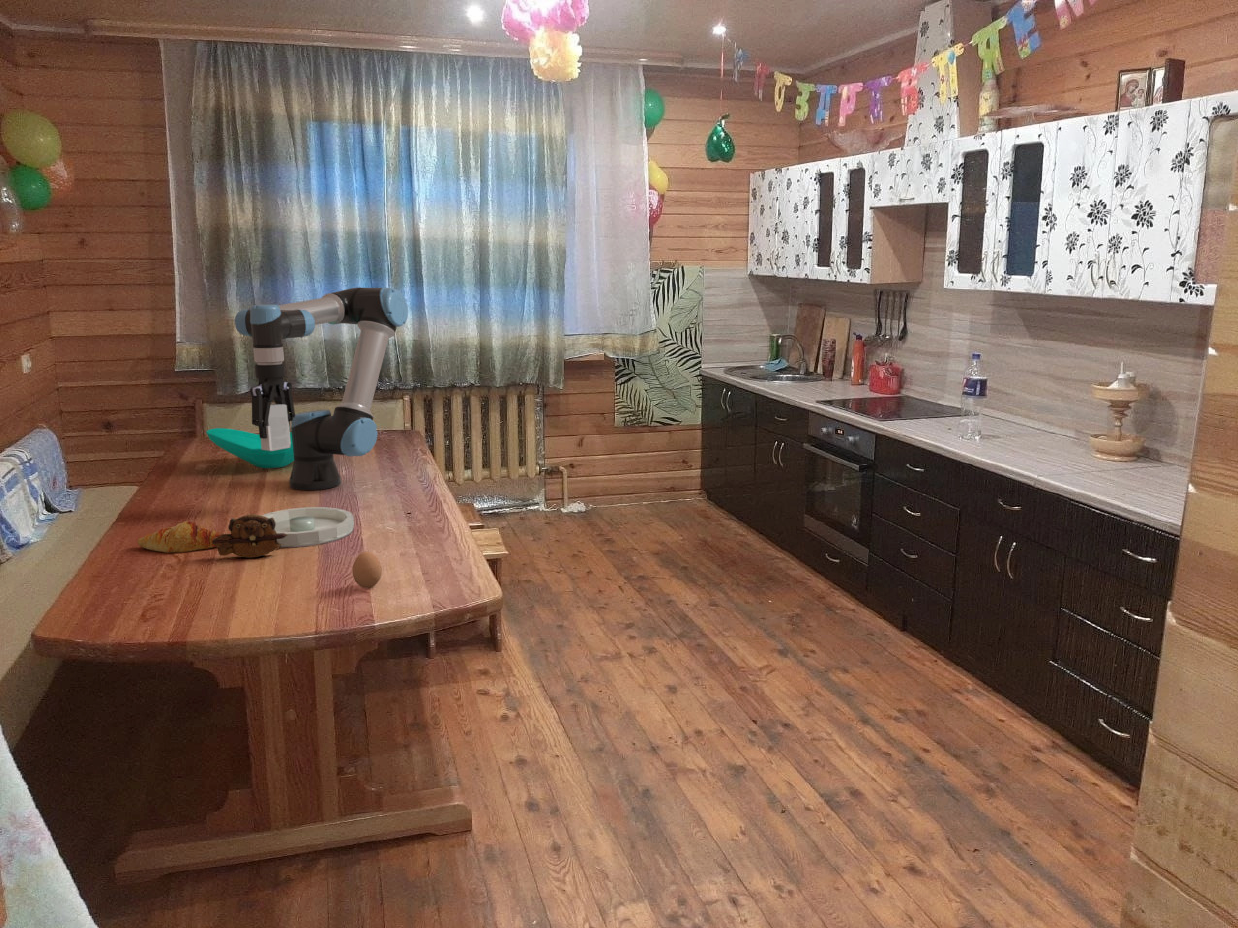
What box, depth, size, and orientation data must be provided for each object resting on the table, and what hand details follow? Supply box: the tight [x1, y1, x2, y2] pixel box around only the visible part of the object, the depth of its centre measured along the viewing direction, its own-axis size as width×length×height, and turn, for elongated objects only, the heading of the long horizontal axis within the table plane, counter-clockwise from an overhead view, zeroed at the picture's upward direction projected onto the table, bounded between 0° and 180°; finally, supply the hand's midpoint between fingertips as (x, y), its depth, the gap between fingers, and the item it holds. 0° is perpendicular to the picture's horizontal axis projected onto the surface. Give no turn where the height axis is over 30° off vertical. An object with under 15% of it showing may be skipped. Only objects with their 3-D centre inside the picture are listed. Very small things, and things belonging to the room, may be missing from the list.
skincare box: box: [262, 403, 290, 451], centre depth 253 cm, size 6×4×12 cm
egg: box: [351, 551, 382, 589], centre depth 198 cm, size 6×6×8 cm
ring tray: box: [261, 506, 355, 549], centre depth 238 cm, size 25×25×4 cm
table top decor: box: [205, 427, 294, 469], centre depth 314 cm, size 40×28×13 cm
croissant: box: [137, 520, 223, 554], centre depth 225 cm, size 21×10×8 cm, turn 96°
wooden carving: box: [212, 513, 287, 559], centre depth 218 cm, size 16×5×10 cm, turn 105°
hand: (276, 447), depth 254 cm, fingers closed on skincare box, 7 cm apart
